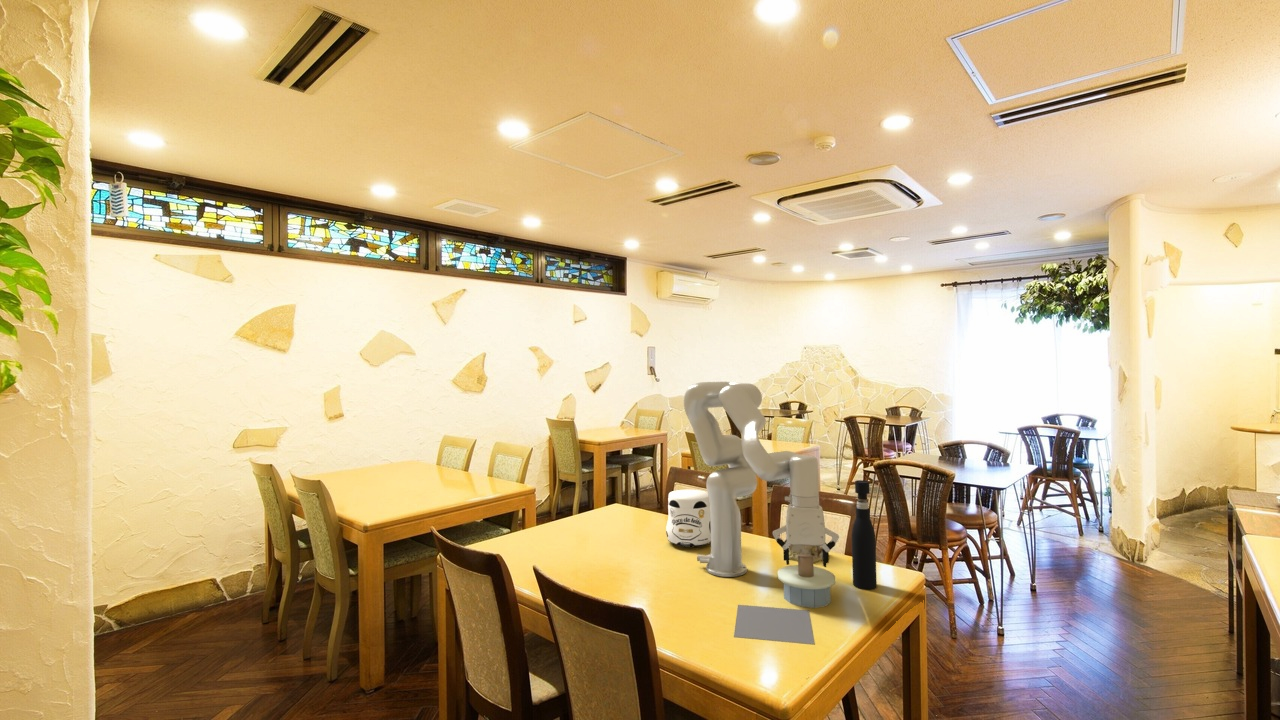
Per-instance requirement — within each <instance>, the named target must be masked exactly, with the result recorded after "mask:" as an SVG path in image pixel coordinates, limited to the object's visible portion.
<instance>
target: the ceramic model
mask: <svg viewBox="0 0 1280 720" xmlns="http://www.w3.org/2000/svg"><path fill="white" fill-rule="evenodd" d="M788 548H789V561H790V560H791V561H795V562H798V555H799V554H810V555H812V556H813V564H815V563H818V562H820V561H823V559H822V550H823V548H822V547H821V546H810V545H794V544H791V545H790V546H789V547H788Z"/></svg>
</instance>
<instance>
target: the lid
mask: <svg viewBox="0 0 1280 720" xmlns="http://www.w3.org/2000/svg"><path fill="white" fill-rule="evenodd" d="M777 578H778V580H779V581H780V582H781V583H783V584H784V583H785V584H787V585H789V586H793V587H797V588H802V589H824V588H828V587H830V588H831V587H833V586H834V585H835V583H836V575H835V574H834V573H833V572H831V571H830V570H828V569H825V568H822V567H819V566H814V563H813V556H812V555H810V554H799V555H798V561H797V564H794V565H792V564H791V565H785V566H783V567H780V568H779V569H778V570H777Z"/></svg>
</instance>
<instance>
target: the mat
mask: <svg viewBox="0 0 1280 720" xmlns="http://www.w3.org/2000/svg"><path fill="white" fill-rule="evenodd" d="M733 638H740V639H751V640H760V641H762V640H763V641H772V642H782V643H783V642H784V643H792V644H793V643H794V644H805V645H815V644H816V643H815V638H814V633H813V625H812V620H811V615H810V610H808V609H800V608H799V609H797V608H795V609H794V608H783V607H771V606H759V605H744V604H737V610H736V617H735V626H734V632H733Z"/></svg>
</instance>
